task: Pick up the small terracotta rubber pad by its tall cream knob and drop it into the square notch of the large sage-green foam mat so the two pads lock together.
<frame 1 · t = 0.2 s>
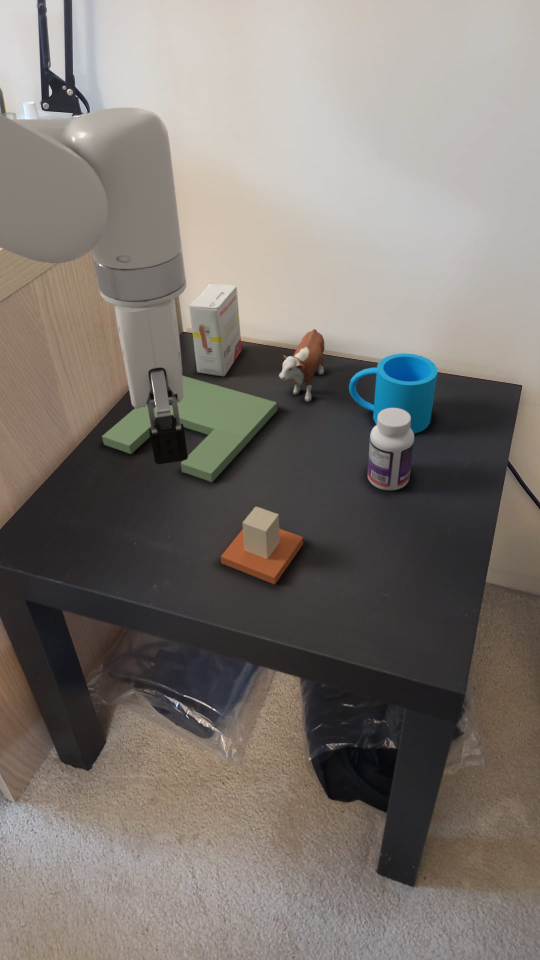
hand: (167, 431, 70), 17 cm above the table, tool pointing down, fingers open, 9 cm apart
pill bottle: (387, 479, 89), on the table
terracotta pad: (262, 553, 79), on the table
bull figurine: (304, 389, 105), on the table
green mat: (192, 427, 98), on the table
mug: (388, 416, 99), on the table
ink box: (219, 362, 112), on the table
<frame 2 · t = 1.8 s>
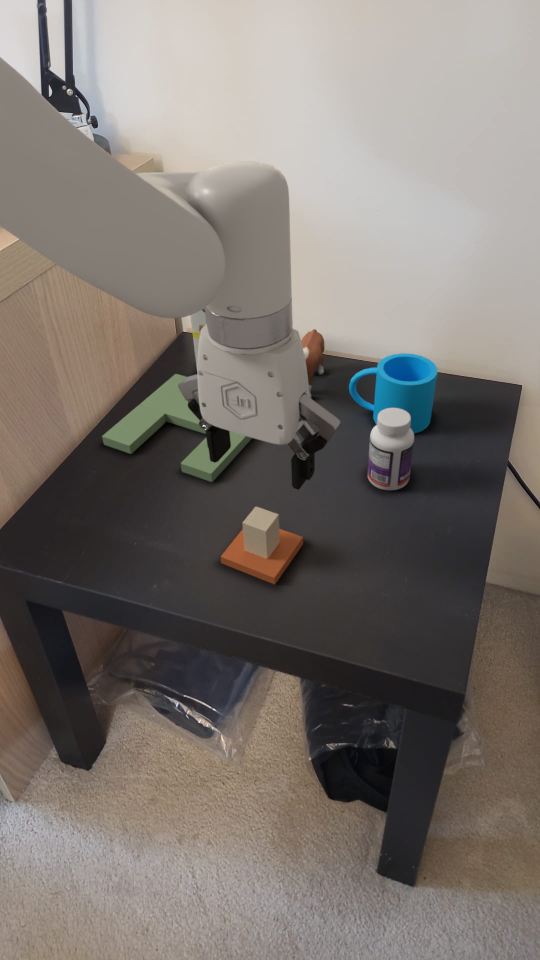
hand: (260, 467, 71), 13 cm above the table, tool pointing down, fingers open, 9 cm apart
nothing on the table moved.
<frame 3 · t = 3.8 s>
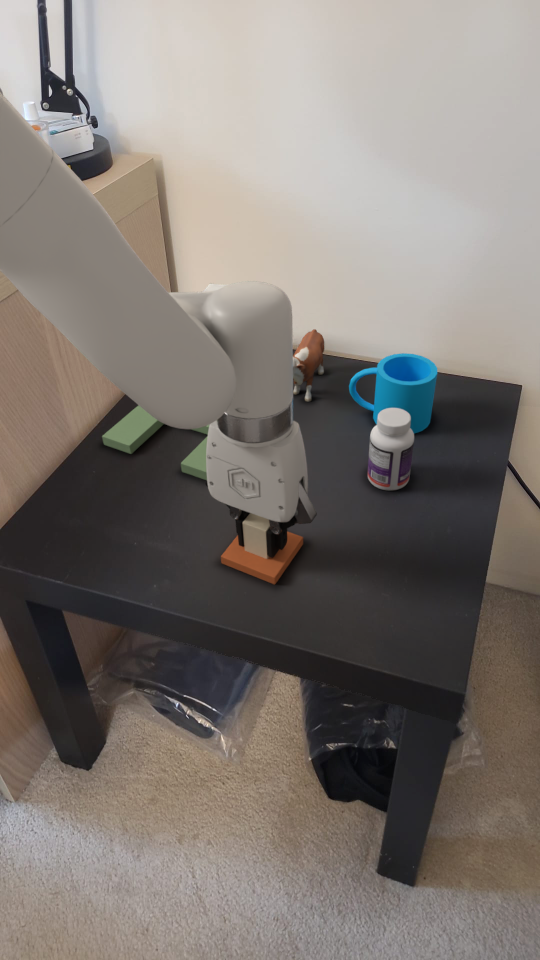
hand: (262, 542, 78), 2 cm above the table, tool pointing down, fingers closed on terracotta pad, 3 cm apart
terracotta pad: (262, 553, 79), on the table, touching gripper
everything else where it was.
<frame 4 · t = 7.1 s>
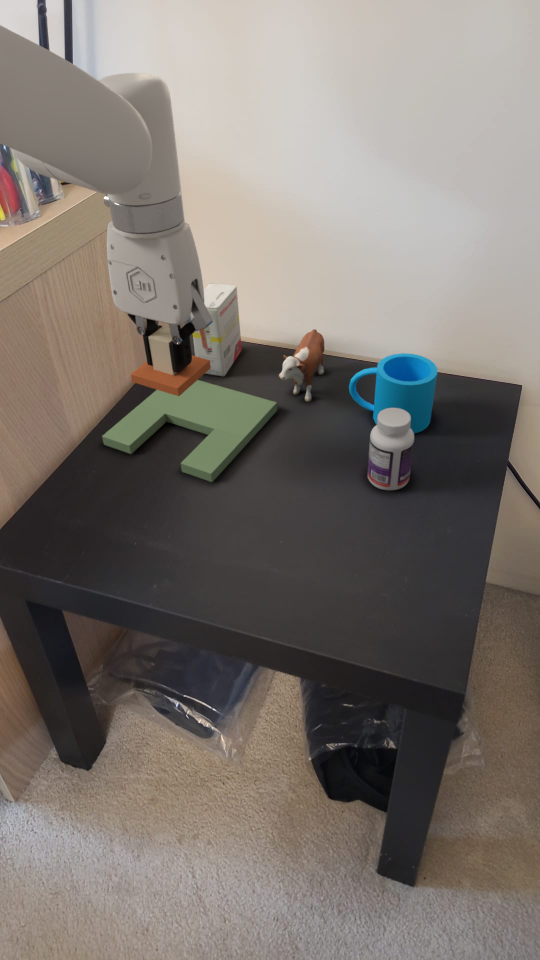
hand: (169, 362, 83), 15 cm above the table, tool pointing down, fingers closed on terracotta pad, 3 cm apart
terracotta pad: (171, 375, 85), point 13 cm above the table, touching gripper
everything else where it was.
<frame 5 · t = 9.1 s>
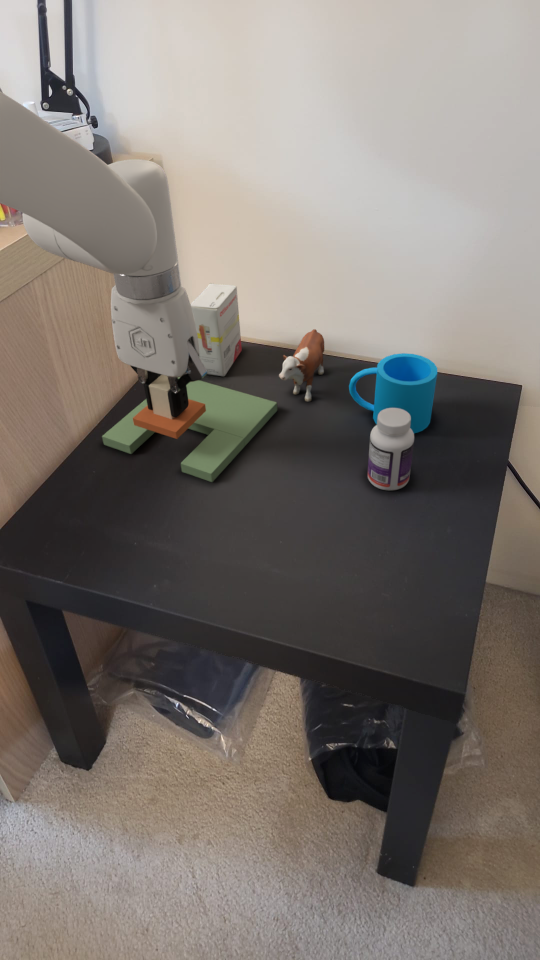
hand: (168, 407, 91), 6 cm above the table, tool pointing down, fingers closed on terracotta pad, 3 cm apart
terracotta pad: (170, 418, 92), point 5 cm above the table, touching gripper
everything else where it was.
when the fingers open (2 cm above the table, at t = 10.4 s): terracotta pad stays where it is, on the table.
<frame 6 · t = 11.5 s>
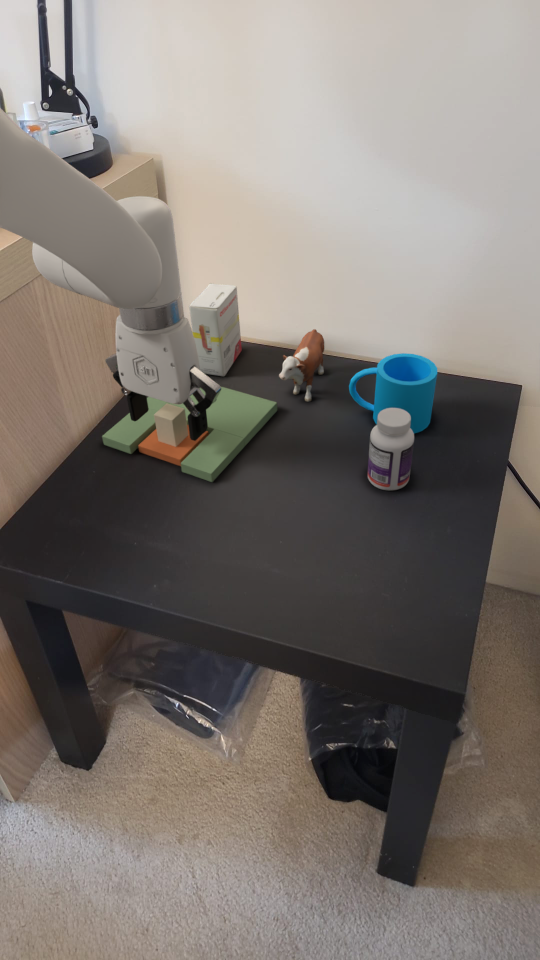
hand: (169, 425, 93), 4 cm above the table, tool pointing down, fingers open, 9 cm apart
terracotta pad: (174, 445, 95), on the table
everything else where it was.
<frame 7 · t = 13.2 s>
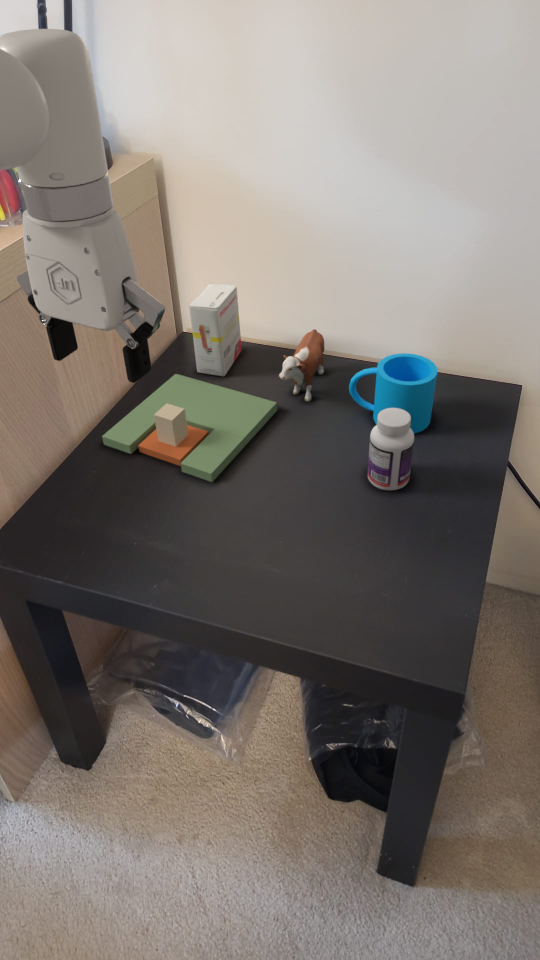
hand: (102, 365, 72), 21 cm above the table, tool pointing down, fingers open, 9 cm apart
nothing on the table moved.
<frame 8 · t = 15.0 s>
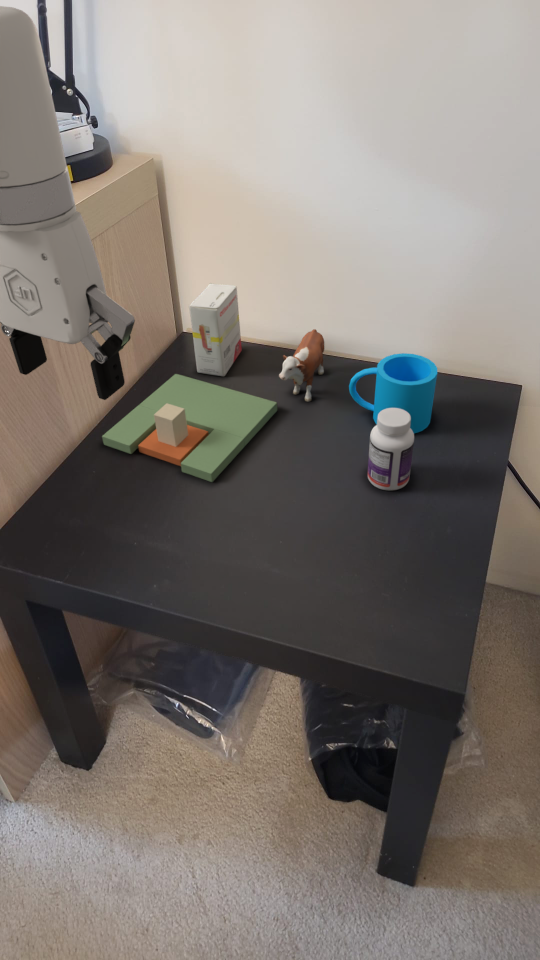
hand: (72, 379, 66), 23 cm above the table, tool pointing down, fingers open, 9 cm apart
nothing on the table moved.
at the end: terracotta pad 0.2 cm from the target spot on the green mat, point 0.0 cm above the green mat's base; terracotta pad tilted 0°; the gripper is holding nothing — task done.
